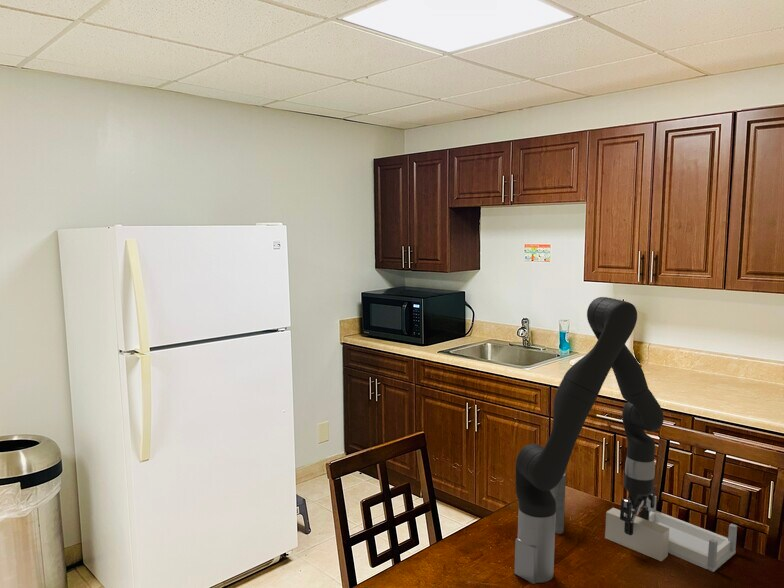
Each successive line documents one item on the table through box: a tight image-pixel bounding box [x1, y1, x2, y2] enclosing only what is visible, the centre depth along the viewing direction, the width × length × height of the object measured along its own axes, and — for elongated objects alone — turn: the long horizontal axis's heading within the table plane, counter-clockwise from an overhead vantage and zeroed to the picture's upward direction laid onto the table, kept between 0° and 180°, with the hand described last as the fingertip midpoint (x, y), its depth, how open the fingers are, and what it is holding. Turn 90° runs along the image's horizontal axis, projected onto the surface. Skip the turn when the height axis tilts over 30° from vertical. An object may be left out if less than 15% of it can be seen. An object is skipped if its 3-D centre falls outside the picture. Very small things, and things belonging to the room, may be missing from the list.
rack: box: [631, 495, 738, 573], centre depth 166 cm, size 14×24×8 cm, turn 39°
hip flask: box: [550, 472, 567, 535], centre depth 178 cm, size 16×4×20 cm, turn 1°
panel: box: [604, 507, 669, 562], centre depth 164 cm, size 4×16×8 cm, turn 43°
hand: (636, 529), depth 164 cm, fingers open, 8 cm apart
